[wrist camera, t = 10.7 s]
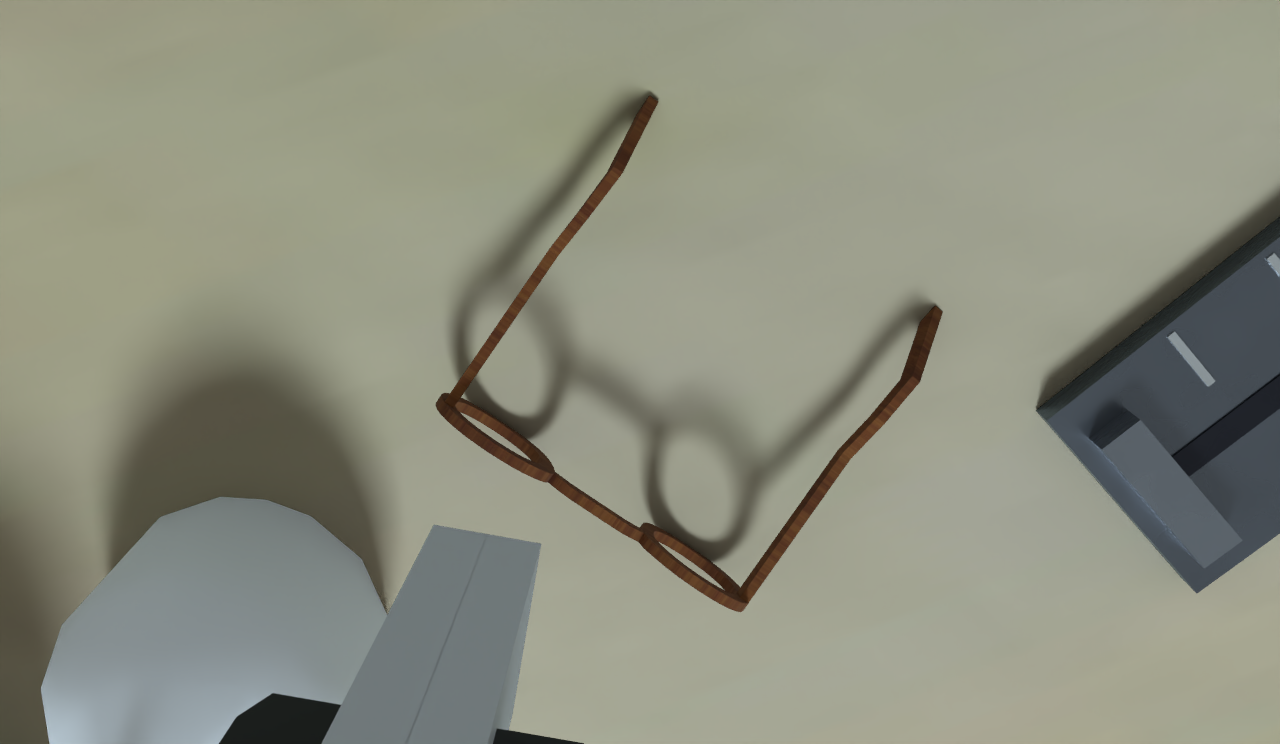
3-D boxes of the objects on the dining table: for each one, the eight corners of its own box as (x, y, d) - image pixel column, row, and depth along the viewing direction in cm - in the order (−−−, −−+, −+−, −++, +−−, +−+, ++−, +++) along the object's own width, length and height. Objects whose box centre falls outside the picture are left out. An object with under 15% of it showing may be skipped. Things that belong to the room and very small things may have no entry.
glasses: (444, 390, 40) (414, 434, 36) (648, 93, 37) (645, 98, 32) (730, 580, 42) (738, 646, 37) (947, 312, 39) (986, 346, 34)
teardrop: (228, 792, 45) (76, 1044, 33) (52, 585, 43) (-177, 780, 31) (445, 666, 43) (364, 887, 32) (274, 443, 41) (118, 593, 29)
